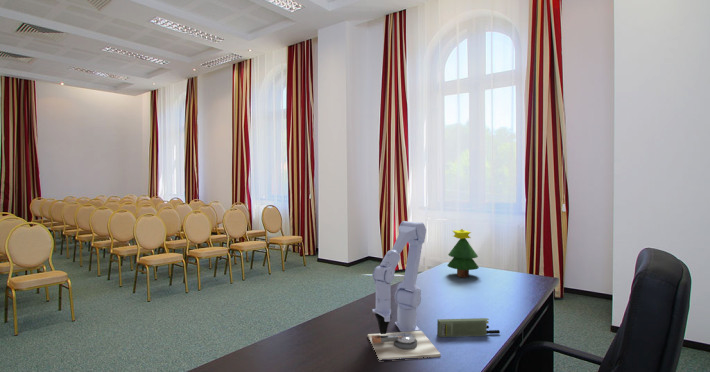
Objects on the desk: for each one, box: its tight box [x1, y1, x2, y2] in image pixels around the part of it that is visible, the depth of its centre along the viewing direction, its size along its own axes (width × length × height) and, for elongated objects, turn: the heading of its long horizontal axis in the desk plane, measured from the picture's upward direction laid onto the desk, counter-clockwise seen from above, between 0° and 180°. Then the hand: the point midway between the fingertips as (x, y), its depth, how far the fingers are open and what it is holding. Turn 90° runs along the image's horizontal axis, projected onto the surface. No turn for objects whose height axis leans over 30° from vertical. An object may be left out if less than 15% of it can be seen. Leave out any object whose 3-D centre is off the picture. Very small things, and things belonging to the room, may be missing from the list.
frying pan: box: [372, 333, 415, 344], centre depth 138 cm, size 7×16×2 cm, turn 99°
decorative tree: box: [446, 228, 479, 278], centre depth 239 cm, size 19×19×30 cm
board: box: [367, 330, 442, 361], centre depth 140 cm, size 20×22×2 cm
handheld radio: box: [436, 317, 501, 338], centre depth 150 cm, size 7×3×25 cm
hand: (382, 333), depth 144 cm, fingers closed
